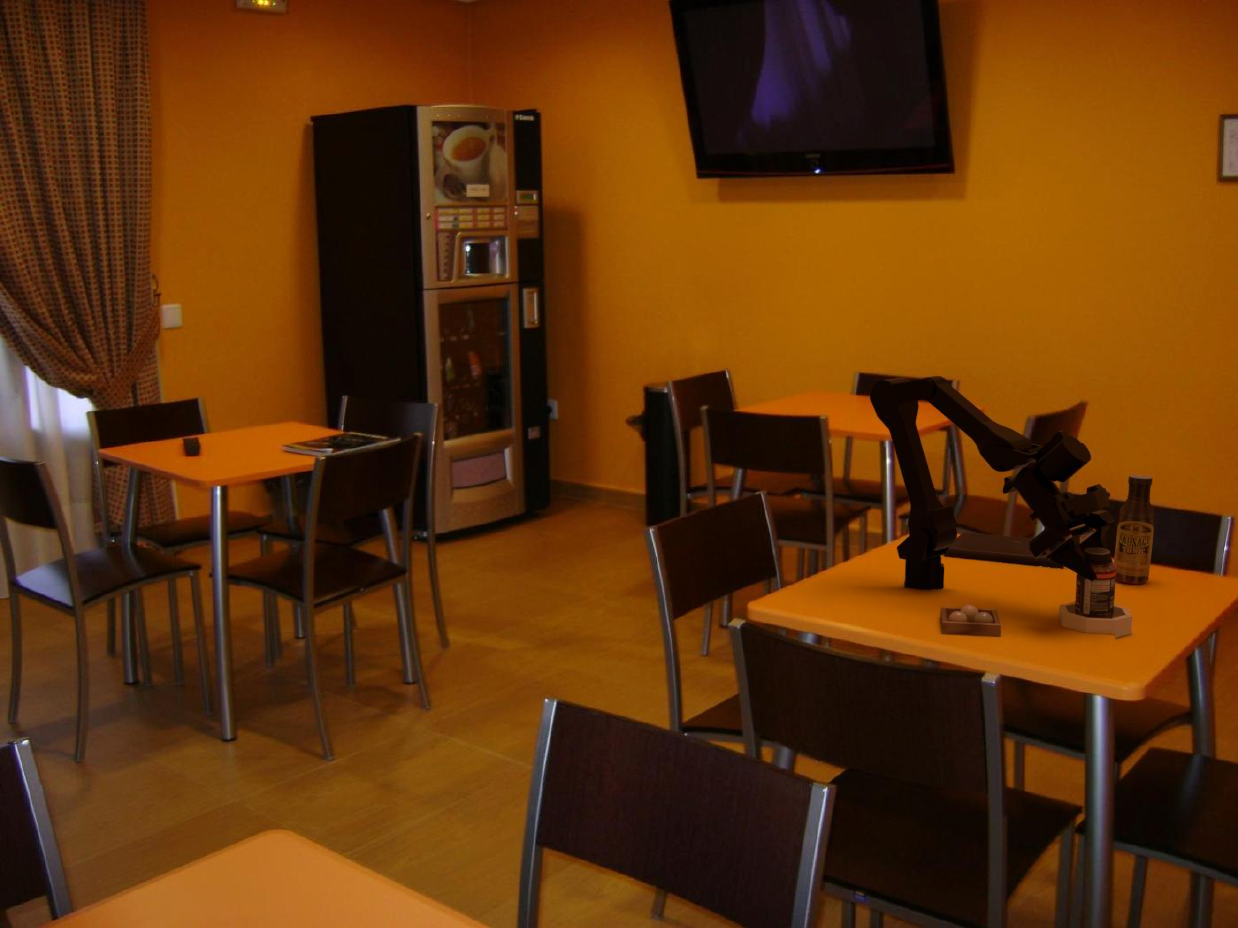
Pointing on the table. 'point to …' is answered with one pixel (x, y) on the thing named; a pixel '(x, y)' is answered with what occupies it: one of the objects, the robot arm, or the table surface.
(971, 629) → the pebble tray
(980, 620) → the pebble
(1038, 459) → the robot arm
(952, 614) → the pebble
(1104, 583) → the supplement bottle
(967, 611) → the pebble
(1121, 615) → the dish
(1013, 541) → the hardcover book
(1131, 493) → the sauce bottle
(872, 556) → the table surface
